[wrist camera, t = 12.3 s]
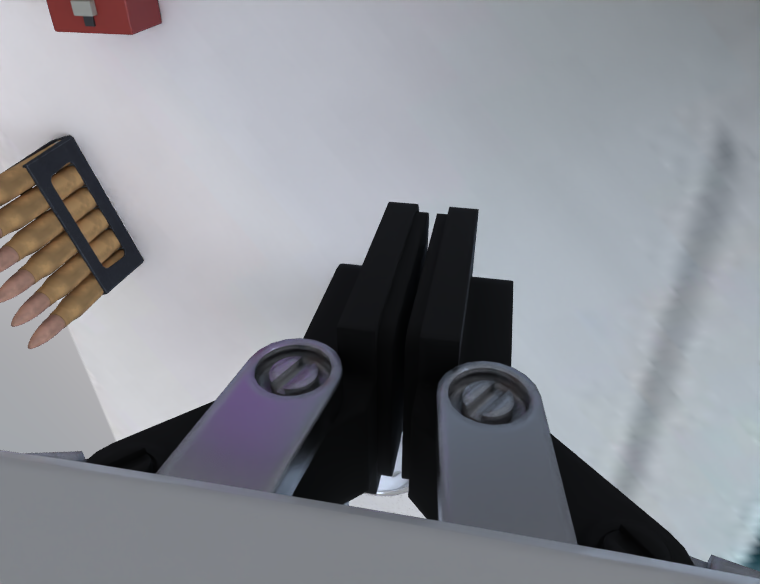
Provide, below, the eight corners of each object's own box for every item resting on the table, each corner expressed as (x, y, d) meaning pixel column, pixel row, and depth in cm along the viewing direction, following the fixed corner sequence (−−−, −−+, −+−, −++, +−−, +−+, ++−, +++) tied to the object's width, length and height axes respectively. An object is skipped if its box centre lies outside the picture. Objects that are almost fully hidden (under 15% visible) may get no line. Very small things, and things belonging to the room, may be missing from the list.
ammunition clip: (51, 140, 44) (-85, 215, 34) (71, 134, 43) (-62, 208, 33) (125, 265, 49) (26, 361, 39) (144, 261, 48) (48, 357, 39)
